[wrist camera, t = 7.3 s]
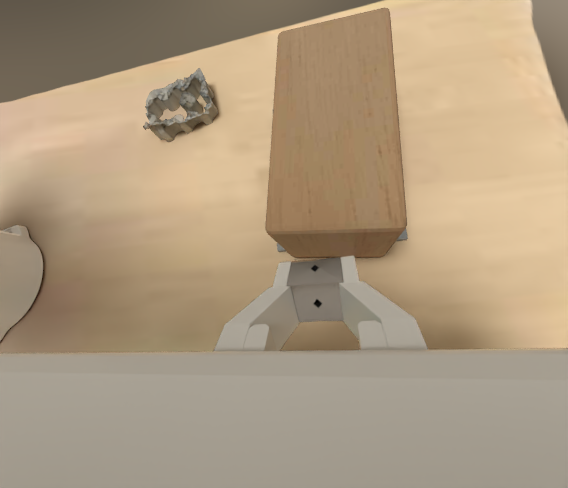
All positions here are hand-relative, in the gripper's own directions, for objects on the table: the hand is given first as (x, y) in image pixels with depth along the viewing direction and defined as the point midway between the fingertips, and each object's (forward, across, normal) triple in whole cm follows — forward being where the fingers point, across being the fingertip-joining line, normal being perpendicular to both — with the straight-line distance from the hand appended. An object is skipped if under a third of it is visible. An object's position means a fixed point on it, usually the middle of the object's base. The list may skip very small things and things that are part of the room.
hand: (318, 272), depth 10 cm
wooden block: (+10, 0, +6) cm, 12 cm away
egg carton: (+33, +20, -8) cm, 39 cm away
